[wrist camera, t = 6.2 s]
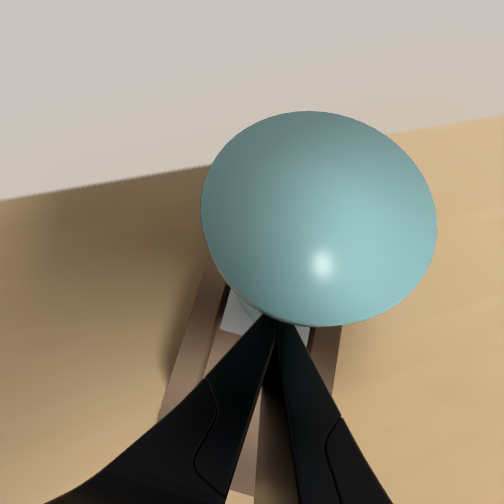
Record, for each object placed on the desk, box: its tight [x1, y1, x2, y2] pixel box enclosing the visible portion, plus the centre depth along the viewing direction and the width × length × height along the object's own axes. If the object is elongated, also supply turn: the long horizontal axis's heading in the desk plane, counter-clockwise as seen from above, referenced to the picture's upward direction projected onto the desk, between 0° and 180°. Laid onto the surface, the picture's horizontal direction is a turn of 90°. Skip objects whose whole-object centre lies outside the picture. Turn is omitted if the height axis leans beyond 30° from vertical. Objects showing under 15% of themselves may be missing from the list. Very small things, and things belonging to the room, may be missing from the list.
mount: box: [157, 253, 342, 497], centre depth 12 cm, size 14×8×7 cm, turn 166°
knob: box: [201, 111, 437, 347], centre depth 10 cm, size 5×4×11 cm
